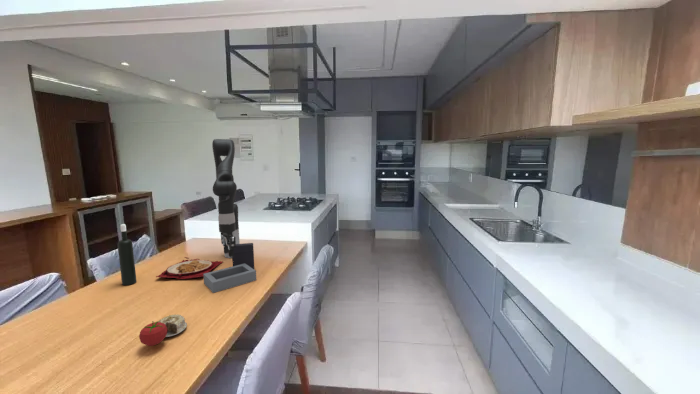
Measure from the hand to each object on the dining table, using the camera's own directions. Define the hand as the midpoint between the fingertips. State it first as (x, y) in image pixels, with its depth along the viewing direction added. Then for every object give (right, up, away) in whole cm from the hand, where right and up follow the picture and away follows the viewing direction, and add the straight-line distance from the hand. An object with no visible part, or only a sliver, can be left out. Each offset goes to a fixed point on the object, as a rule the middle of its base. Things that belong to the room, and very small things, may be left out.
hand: (228, 254), depth 144 cm
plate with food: (-25, -19, +10) cm, 33 cm away
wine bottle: (-50, -14, +1) cm, 52 cm away
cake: (-5, -20, -38) cm, 43 cm away
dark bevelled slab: (+1, -12, +17) cm, 21 cm away
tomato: (-6, -21, -46) cm, 51 cm away
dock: (0, -14, +2) cm, 14 cm away
